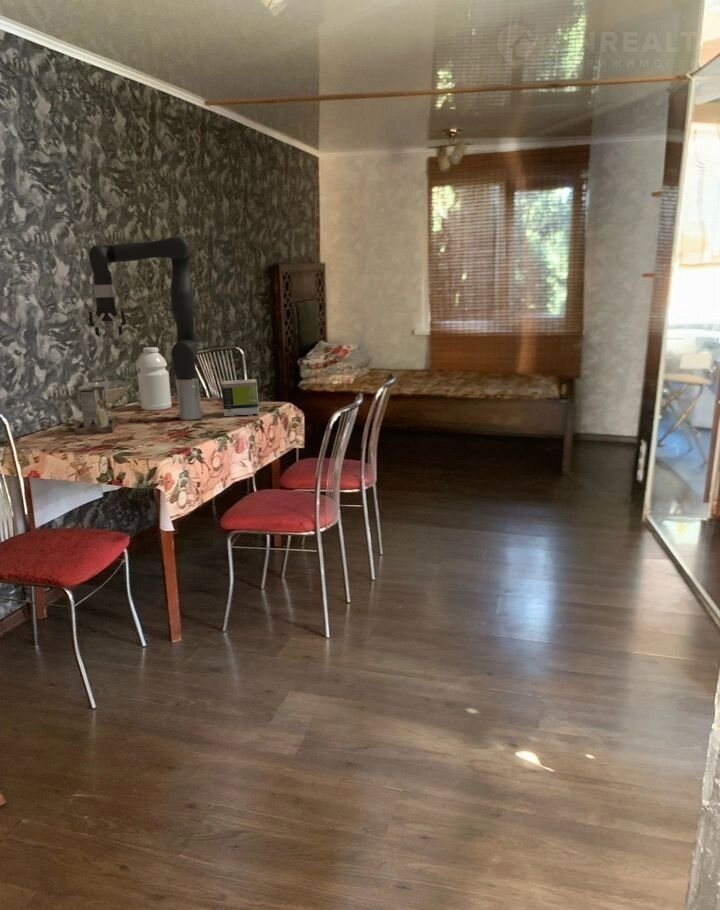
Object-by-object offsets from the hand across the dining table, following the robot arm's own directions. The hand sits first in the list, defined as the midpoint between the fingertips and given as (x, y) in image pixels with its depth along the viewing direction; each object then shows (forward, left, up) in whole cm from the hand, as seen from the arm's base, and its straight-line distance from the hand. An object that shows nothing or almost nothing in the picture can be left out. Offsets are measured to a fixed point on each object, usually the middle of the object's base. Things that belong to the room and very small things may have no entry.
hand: (109, 336), depth 288 cm
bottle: (-14, -26, -36) cm, 47 cm away
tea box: (-52, +3, -36) cm, 64 cm away
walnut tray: (+7, +17, -36) cm, 41 cm away
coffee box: (+7, +17, -35) cm, 40 cm away
